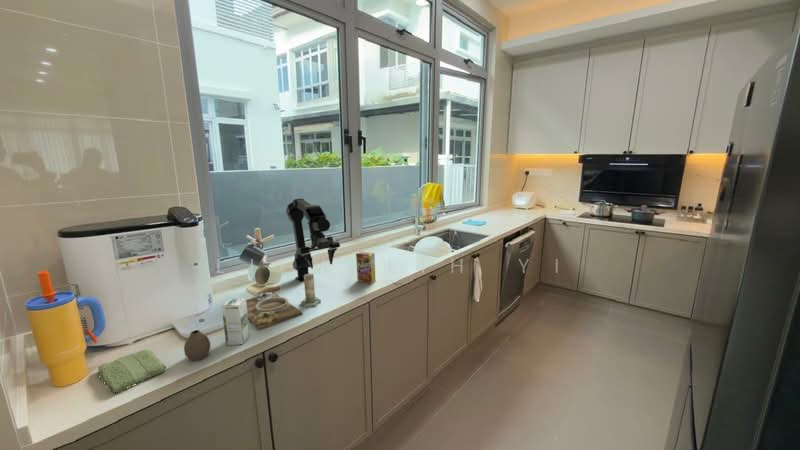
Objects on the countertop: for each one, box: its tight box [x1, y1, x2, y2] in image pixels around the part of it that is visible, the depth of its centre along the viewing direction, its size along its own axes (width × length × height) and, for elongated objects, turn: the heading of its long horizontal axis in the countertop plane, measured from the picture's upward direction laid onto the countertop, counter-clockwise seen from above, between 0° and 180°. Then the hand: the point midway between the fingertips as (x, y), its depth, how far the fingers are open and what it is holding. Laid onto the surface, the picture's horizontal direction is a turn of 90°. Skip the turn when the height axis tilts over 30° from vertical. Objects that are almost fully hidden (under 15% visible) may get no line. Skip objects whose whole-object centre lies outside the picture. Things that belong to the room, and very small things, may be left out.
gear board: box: [246, 291, 303, 331], centre depth 129 cm, size 30×17×3 cm, turn 44°
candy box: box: [355, 250, 376, 284], centre depth 157 cm, size 9×4×15 cm, turn 64°
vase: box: [183, 329, 211, 362], centre depth 97 cm, size 7×7×9 cm
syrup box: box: [221, 297, 250, 346], centre depth 105 cm, size 6×6×14 cm
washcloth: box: [96, 348, 167, 394], centre depth 91 cm, size 13×18×3 cm
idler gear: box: [300, 273, 322, 308], centre depth 133 cm, size 8×8×13 cm
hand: (321, 266), depth 141 cm, fingers open, 9 cm apart
